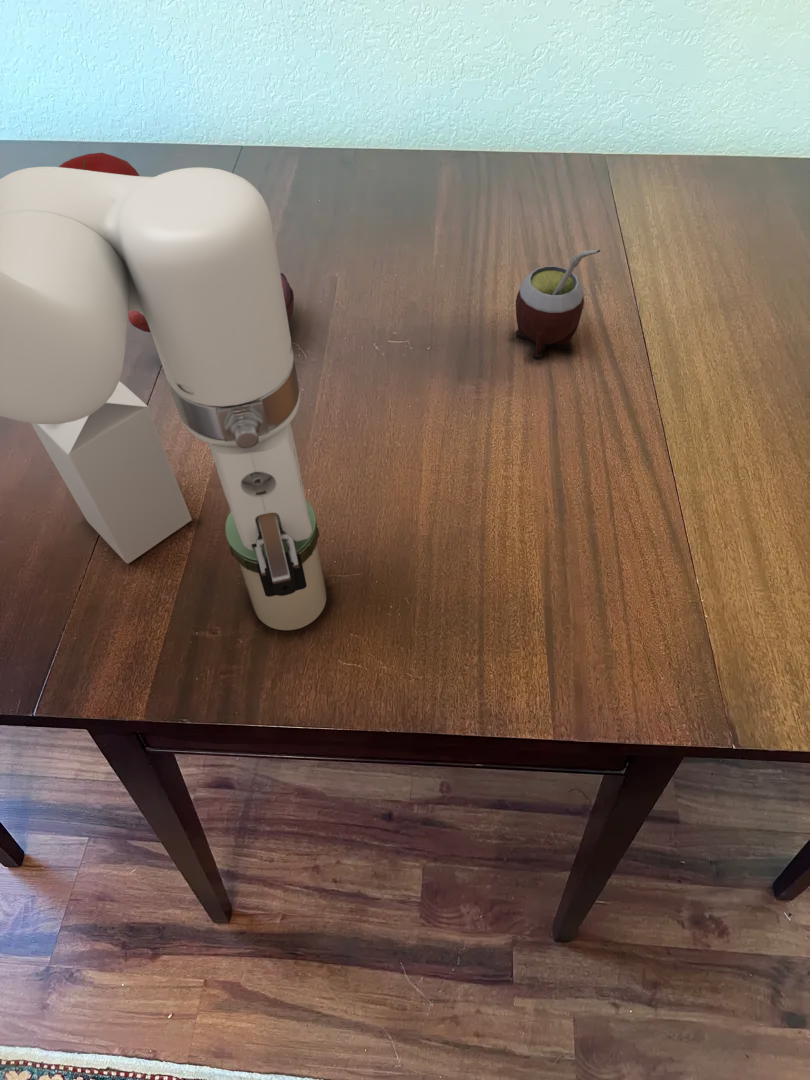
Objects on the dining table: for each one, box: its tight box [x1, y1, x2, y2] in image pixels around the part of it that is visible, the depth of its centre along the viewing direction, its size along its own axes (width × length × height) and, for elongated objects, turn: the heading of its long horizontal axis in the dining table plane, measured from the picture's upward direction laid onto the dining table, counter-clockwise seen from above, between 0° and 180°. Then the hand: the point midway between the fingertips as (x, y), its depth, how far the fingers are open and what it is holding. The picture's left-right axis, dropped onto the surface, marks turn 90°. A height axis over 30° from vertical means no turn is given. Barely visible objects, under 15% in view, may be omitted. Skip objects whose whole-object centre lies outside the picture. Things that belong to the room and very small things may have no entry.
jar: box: [238, 542, 327, 631], centre depth 64 cm, size 6×6×11 cm
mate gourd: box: [515, 249, 602, 361], centre depth 81 cm, size 8×8×15 cm
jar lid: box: [224, 499, 320, 573], centre depth 60 cm, size 7×7×2 cm
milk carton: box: [30, 380, 193, 565], centre depth 65 cm, size 7×7×19 cm
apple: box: [58, 152, 140, 176], centre depth 90 cm, size 12×12×13 cm
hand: (277, 549), depth 62 cm, fingers closed on jar lid, 6 cm apart
